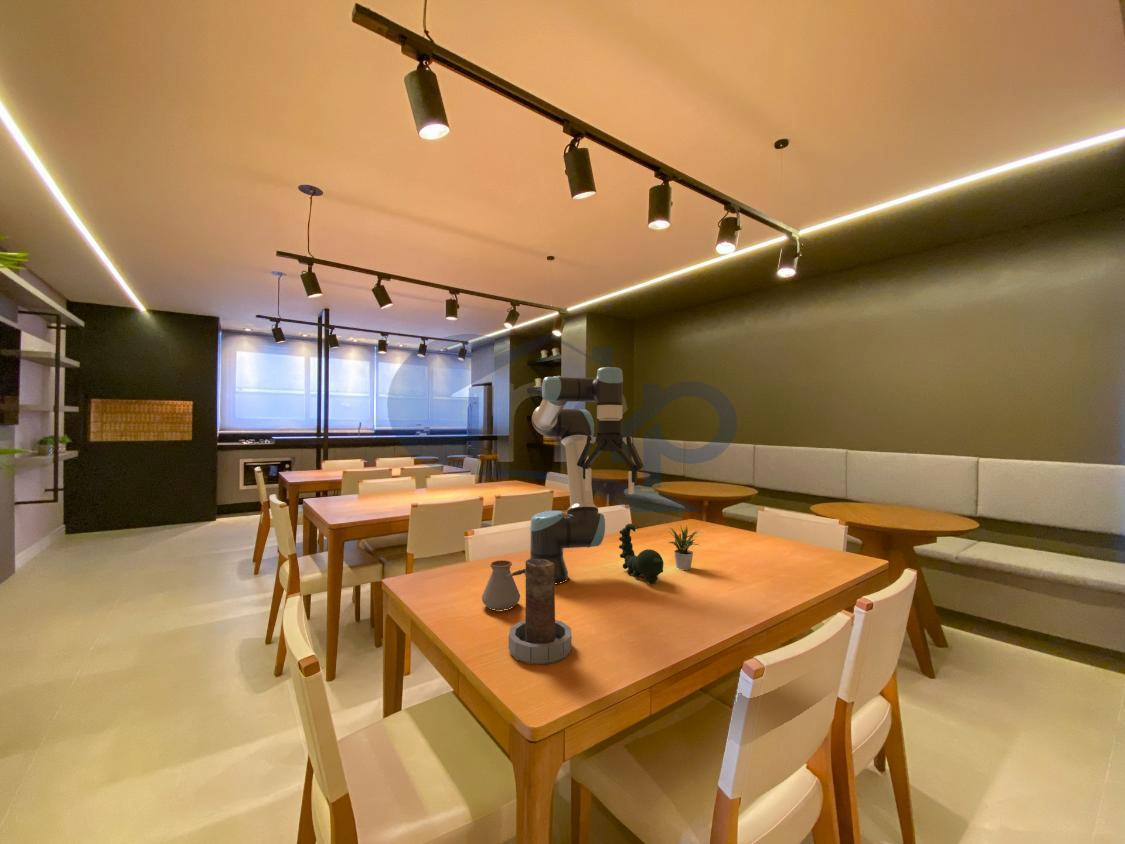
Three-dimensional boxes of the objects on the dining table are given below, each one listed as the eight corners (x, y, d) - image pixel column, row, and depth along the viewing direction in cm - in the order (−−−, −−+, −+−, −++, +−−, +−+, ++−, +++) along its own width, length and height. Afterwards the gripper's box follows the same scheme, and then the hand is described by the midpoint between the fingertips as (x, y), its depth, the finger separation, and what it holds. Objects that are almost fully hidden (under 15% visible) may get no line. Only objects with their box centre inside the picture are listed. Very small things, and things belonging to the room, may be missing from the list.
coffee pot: (475, 604, 135) (475, 554, 135) (508, 596, 141) (508, 548, 142) (510, 630, 118) (510, 573, 118) (546, 619, 124) (546, 565, 125)
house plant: (710, 575, 162) (710, 530, 163) (672, 575, 163) (672, 530, 163) (698, 563, 177) (698, 522, 177) (663, 563, 177) (663, 522, 177)
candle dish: (496, 654, 105) (496, 637, 105) (530, 629, 118) (530, 614, 118) (551, 671, 98) (551, 652, 98) (581, 642, 111) (581, 626, 111)
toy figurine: (614, 573, 169) (652, 589, 146) (611, 523, 171) (649, 531, 148) (635, 570, 173) (675, 586, 150) (633, 521, 174) (672, 528, 152)
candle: (525, 636, 112) (525, 556, 112) (554, 635, 113) (554, 556, 113) (525, 651, 105) (525, 566, 105) (556, 650, 105) (556, 565, 105)
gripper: (654, 420, 129) (654, 493, 129) (577, 420, 141) (577, 487, 141) (646, 419, 122) (646, 497, 122) (566, 419, 134) (566, 490, 134)
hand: (609, 492), depth 131 cm, fingers open, 13 cm apart
